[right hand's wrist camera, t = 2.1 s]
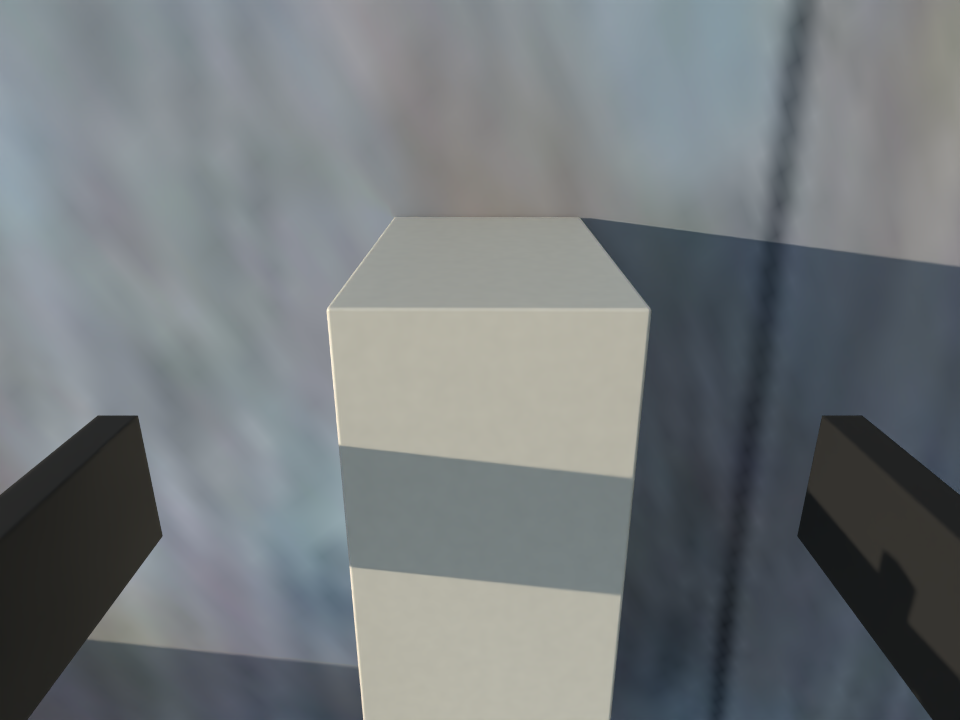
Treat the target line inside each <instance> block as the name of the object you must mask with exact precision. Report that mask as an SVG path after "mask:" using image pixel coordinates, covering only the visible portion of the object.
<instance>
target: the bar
mask: <svg viewBox="0 0 960 720" xmlns="http://www.w3.org/2000/svg"><path fill="white" fill-rule="evenodd" d="M327 320H328V331H329V342H330V353H331V364H332V375H333V386H334V398H335V409H336V420H337V431H338V442H339V453H340V464H341V476H342V487H343V498H344V509H345V520H346V531H347V542H348V554H349V565H350V576H351V587H352V598H353V609H354V621H355V632H356V643H357V654H358V665H359V676H360V687H361V699H362V710H363V720H611V710H612V700H613V690H614V680H615V670H616V660H617V650H618V640H619V630H620V620H621V610H622V600H623V590H624V580H625V570H626V560H627V550H628V540H629V530H630V520H631V510H632V501H633V491H634V481H635V471H636V461H637V451H638V441H639V431H640V421H641V411H642V401H643V391H644V381H645V371H646V361H647V351H648V341H649V331H650V321H651V308H650V307H649V306H648V305H647V303H646V302H645V301H644V299H643V298H642V297H641V296H640V294H639V293H638V292H637V290H636V289H635V288H634V287H633V285H632V284H631V283H630V281H629V280H628V279H627V278H626V276H625V275H624V274H623V272H622V271H621V270H620V269H619V267H618V266H617V265H616V263H615V262H614V261H613V260H612V258H611V257H610V256H609V254H608V253H607V252H606V251H605V249H604V248H603V247H602V245H601V244H600V243H599V242H598V240H597V239H596V238H595V236H594V235H593V234H592V233H591V231H590V230H589V229H588V227H587V226H586V225H585V224H584V222H583V221H582V220H581V218H579V217H395V218H394V219H393V220H392V222H391V223H390V225H389V226H388V227H387V229H386V230H385V231H384V233H383V234H382V235H381V237H380V238H379V239H378V241H377V242H376V243H375V245H374V246H373V247H372V249H371V250H370V251H369V253H368V254H367V256H366V257H365V258H364V260H363V261H362V262H361V264H360V265H359V266H358V268H357V269H356V270H355V272H354V273H353V274H352V276H351V277H350V278H349V280H348V281H347V282H346V284H345V285H344V286H343V288H342V289H341V291H340V292H339V293H338V295H337V296H336V297H335V299H334V300H333V301H332V303H331V304H330V305H329V307H328V308H327Z"/></svg>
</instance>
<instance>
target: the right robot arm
mask: <svg viewBox="0 0 960 720" xmlns="http://www.w3.org/2000/svg"><path fill="white" fill-rule="evenodd" d="M161 538H162V531H161V526H160V521H159V516H158V512H157V507H156V502H155V497H154V492H153V487H152V482H151V477H150V473H149V468H148V463H147V458H146V453H145V448H144V443H143V438H142V434H141V429H140V424H139V419H138V416H97V417H96V418H94V419H93V420H92V421H91V422H89V423H88V424H87V425H86V426H85V427H83V428H82V429H81V430H80V431H78V432H77V433H76V434H75V435H73V436H72V437H71V438H70V439H69V440H67V441H66V442H65V443H64V444H62V445H61V446H60V447H59V448H57V449H56V450H55V451H54V452H53V453H51V454H50V455H49V456H48V457H46V458H45V459H44V460H43V461H41V462H40V463H39V464H38V465H36V466H35V467H34V468H33V469H32V470H30V471H29V472H28V473H27V474H25V475H24V476H23V477H22V478H20V479H19V480H18V481H17V482H16V483H14V484H13V485H12V486H11V487H9V488H8V489H7V490H6V491H4V492H3V493H2V494H1V495H0V720H27V719H28V718H29V717H30V715H31V714H32V713H33V711H34V710H35V709H36V707H37V706H38V704H39V703H40V702H41V700H42V699H43V698H44V696H45V695H46V694H47V692H48V691H49V690H50V688H51V687H52V685H53V684H54V683H55V681H56V680H57V679H58V677H59V676H60V675H61V673H62V672H63V671H64V669H65V668H66V666H67V665H68V664H69V662H70V661H71V660H72V658H73V657H74V656H75V654H76V653H77V652H78V650H79V649H80V647H81V646H82V645H83V643H84V642H85V641H86V639H87V638H88V637H89V635H90V634H91V633H92V631H93V630H94V628H95V627H96V626H97V624H98V623H99V622H100V620H101V619H102V618H103V616H104V615H105V614H106V612H107V611H108V609H109V608H110V607H111V605H112V604H113V603H114V601H115V600H116V599H117V597H118V596H119V595H120V593H121V592H122V590H123V589H124V588H125V586H126V585H127V584H128V582H129V581H130V580H131V578H132V577H133V576H134V574H135V573H136V571H137V570H138V569H139V567H140V566H141V565H142V563H143V562H144V561H145V559H146V558H147V557H148V555H149V554H150V552H151V551H152V550H153V548H154V547H155V546H156V544H157V543H158V542H159V540H160V539H161ZM798 538H799V539H800V540H801V542H802V543H803V544H804V546H805V547H806V548H807V550H808V551H809V552H810V554H811V555H812V557H813V558H814V559H815V561H816V562H817V563H818V565H819V566H820V567H821V569H822V570H823V571H824V573H825V574H826V576H827V577H828V578H829V580H830V581H831V582H832V584H833V585H834V586H835V588H836V589H837V590H838V592H839V593H840V595H841V596H842V597H843V599H844V600H845V601H846V603H847V604H848V605H849V607H850V608H851V609H852V611H853V612H854V614H855V615H856V616H857V618H858V619H859V620H860V622H861V623H862V624H863V626H864V627H865V628H866V630H867V631H868V633H869V634H870V635H871V637H872V638H873V639H874V641H875V642H876V643H877V645H878V646H879V647H880V649H881V650H882V652H883V653H884V654H885V656H886V657H887V658H888V660H889V661H890V662H891V664H892V665H893V666H894V668H895V669H896V671H897V672H898V673H899V675H900V676H901V677H902V679H903V680H904V681H905V683H906V684H907V685H908V687H909V688H910V690H911V691H912V692H913V694H914V695H915V696H916V698H917V699H918V700H919V702H920V703H921V704H922V706H923V707H924V709H925V710H926V711H927V713H928V714H929V715H930V717H931V718H932V719H933V720H960V495H959V494H958V493H957V492H956V491H954V490H953V489H952V488H951V487H949V486H948V485H947V484H946V483H944V482H943V481H942V480H941V479H940V478H938V477H937V476H936V475H935V474H933V473H932V472H931V471H930V470H928V469H927V468H926V467H925V466H923V465H922V464H921V463H920V462H919V461H917V460H916V459H915V458H914V457H912V456H911V455H910V454H909V453H907V452H906V451H905V450H904V449H903V448H901V447H900V446H899V445H898V444H896V443H895V442H894V441H893V440H891V439H890V438H889V437H888V436H887V435H885V434H884V433H883V432H882V431H880V430H879V429H878V428H877V427H875V426H874V425H873V424H872V423H871V422H869V421H868V420H867V419H866V418H864V417H863V416H822V419H821V424H820V429H819V434H818V438H817V443H816V448H815V453H814V458H813V463H812V468H811V473H810V477H809V482H808V487H807V492H806V497H805V502H804V507H803V512H802V516H801V521H800V526H799V531H798Z"/></svg>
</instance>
